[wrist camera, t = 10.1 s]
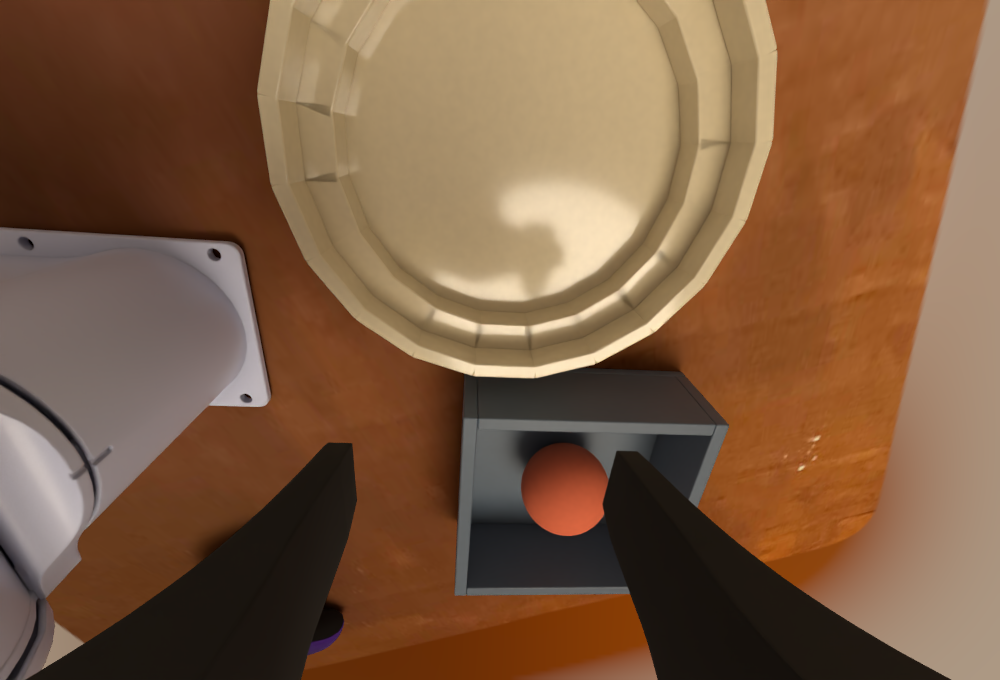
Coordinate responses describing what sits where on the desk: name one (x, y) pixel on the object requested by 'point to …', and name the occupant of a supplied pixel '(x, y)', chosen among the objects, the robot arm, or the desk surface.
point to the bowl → (516, 165)
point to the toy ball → (564, 489)
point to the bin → (581, 421)
